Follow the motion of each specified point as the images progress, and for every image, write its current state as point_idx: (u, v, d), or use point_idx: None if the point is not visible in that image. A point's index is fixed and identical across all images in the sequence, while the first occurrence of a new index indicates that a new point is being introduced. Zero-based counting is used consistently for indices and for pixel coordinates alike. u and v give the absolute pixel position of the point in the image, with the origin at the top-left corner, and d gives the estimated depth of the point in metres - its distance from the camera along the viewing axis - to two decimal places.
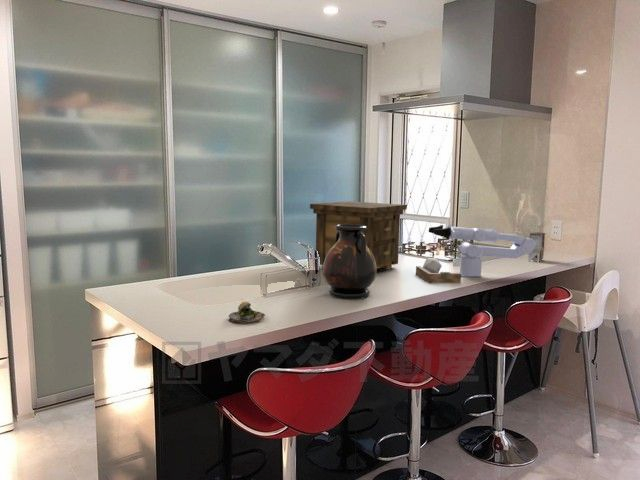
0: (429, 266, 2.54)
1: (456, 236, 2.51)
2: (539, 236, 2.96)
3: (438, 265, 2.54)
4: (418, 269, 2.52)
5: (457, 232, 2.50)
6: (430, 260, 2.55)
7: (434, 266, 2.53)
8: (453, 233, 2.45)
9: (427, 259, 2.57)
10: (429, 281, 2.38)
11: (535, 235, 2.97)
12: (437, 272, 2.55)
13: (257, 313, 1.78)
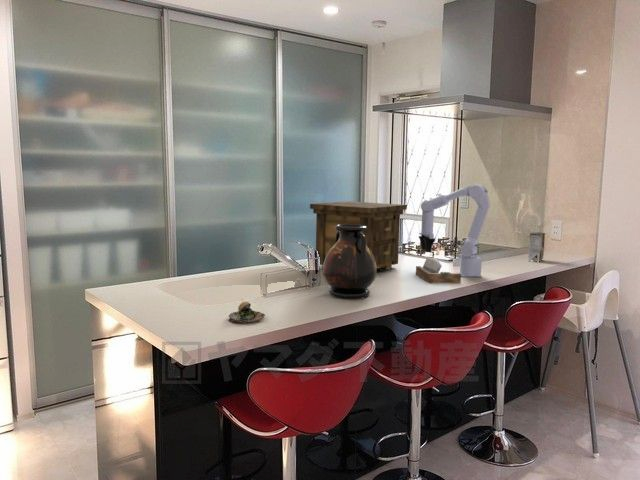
0: (429, 266, 2.54)
1: (431, 228, 2.62)
2: (539, 236, 2.96)
3: (438, 265, 2.54)
4: (418, 269, 2.52)
5: (428, 228, 2.62)
6: (430, 260, 2.55)
7: (434, 266, 2.53)
8: (431, 236, 2.58)
9: (427, 259, 2.57)
10: (429, 281, 2.38)
11: (535, 235, 2.97)
12: (437, 272, 2.55)
13: (257, 313, 1.78)
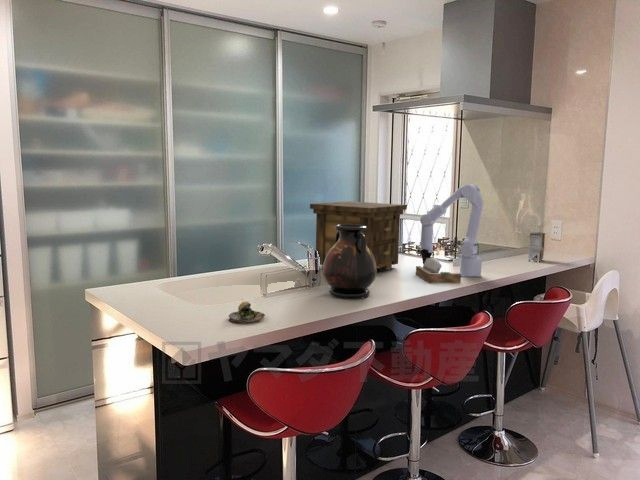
0: (429, 266, 2.54)
1: (431, 242, 2.63)
2: (539, 236, 2.96)
3: (438, 265, 2.54)
4: (418, 269, 2.52)
5: (427, 242, 2.63)
6: (430, 260, 2.55)
7: (434, 266, 2.53)
8: (430, 250, 2.59)
9: (427, 259, 2.57)
10: (429, 281, 2.38)
11: (535, 235, 2.97)
12: (437, 272, 2.55)
13: (257, 313, 1.78)
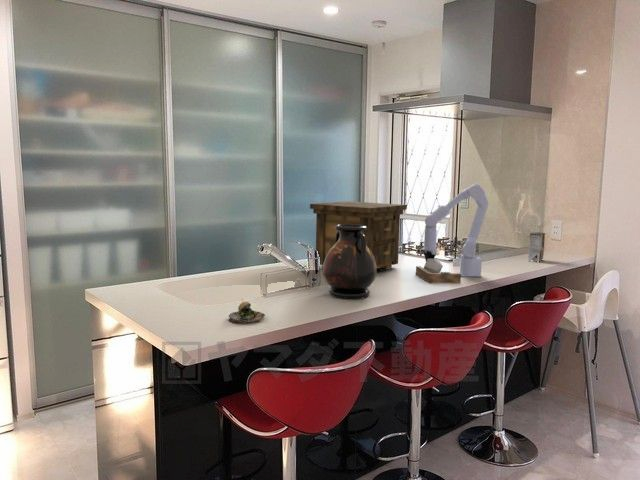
0: (430, 266, 2.52)
1: (434, 243, 2.58)
2: (539, 236, 2.96)
3: (439, 265, 2.53)
4: (418, 269, 2.52)
5: (431, 243, 2.57)
6: (431, 260, 2.53)
7: (435, 266, 2.52)
8: (433, 252, 2.53)
9: (428, 259, 2.55)
10: (429, 281, 2.38)
11: (535, 235, 2.97)
12: (438, 272, 2.54)
13: (257, 313, 1.78)
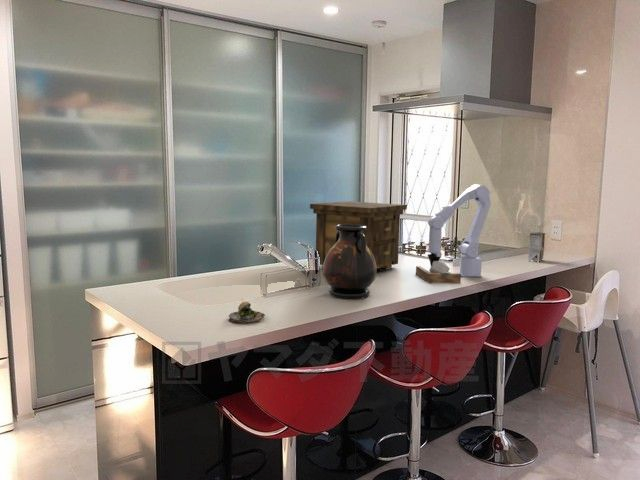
0: (438, 269, 2.45)
1: (439, 245, 2.51)
2: (539, 236, 2.96)
3: (446, 268, 2.46)
4: (418, 269, 2.52)
5: (435, 245, 2.50)
6: (438, 263, 2.47)
7: (443, 269, 2.45)
8: (438, 254, 2.46)
9: (434, 262, 2.48)
10: (429, 281, 2.38)
11: (535, 235, 2.97)
12: None
13: (257, 313, 1.78)
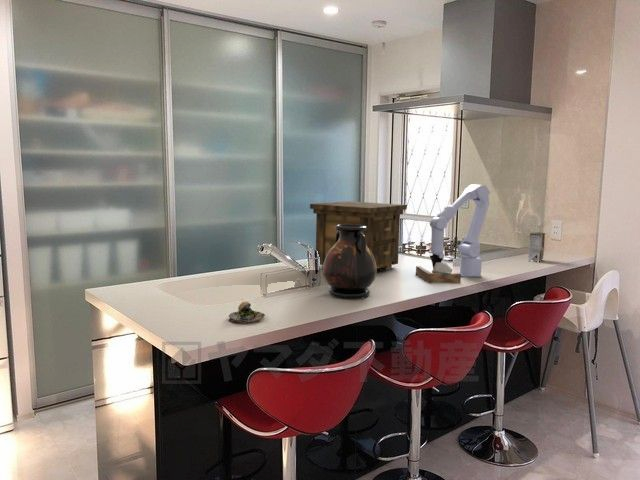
0: (441, 271, 2.42)
1: (441, 247, 2.48)
2: (539, 236, 2.96)
3: (449, 269, 2.43)
4: (418, 269, 2.52)
5: (438, 246, 2.47)
6: (441, 264, 2.43)
7: (446, 271, 2.42)
8: (441, 256, 2.43)
9: (437, 263, 2.45)
10: (429, 281, 2.38)
11: (535, 235, 2.97)
12: None
13: (257, 313, 1.78)
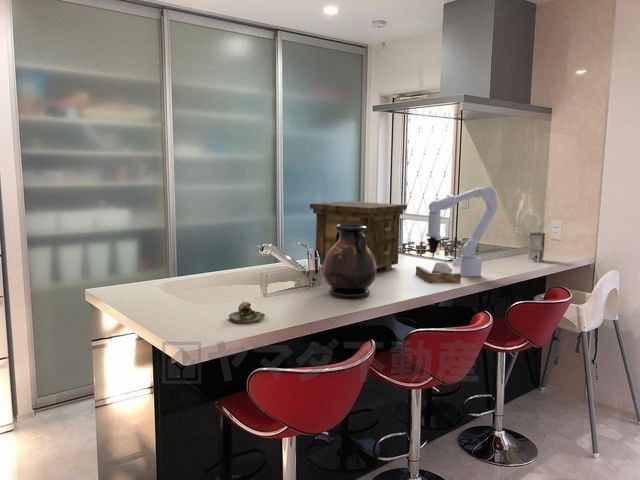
0: (441, 271, 2.42)
1: (438, 229, 2.57)
2: (539, 236, 2.96)
3: (449, 269, 2.43)
4: (418, 269, 2.52)
5: (435, 229, 2.56)
6: (441, 264, 2.43)
7: (446, 271, 2.42)
8: (438, 238, 2.52)
9: (437, 263, 2.45)
10: (429, 281, 2.38)
11: (535, 235, 2.97)
12: None
13: (257, 313, 1.78)
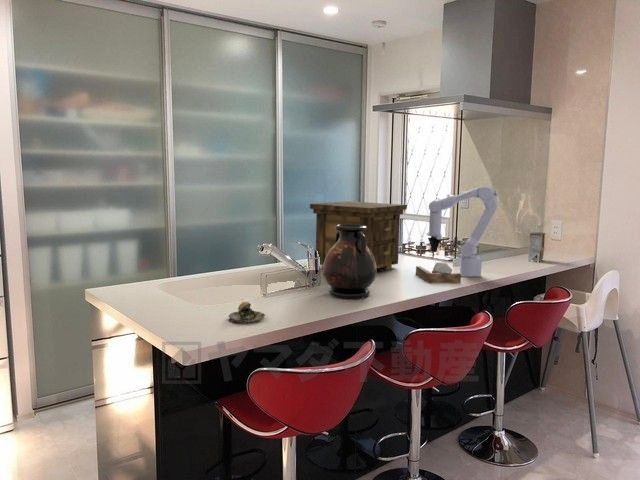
0: (441, 271, 2.42)
1: (439, 229, 2.60)
2: (539, 236, 2.96)
3: (449, 269, 2.43)
4: (418, 269, 2.52)
5: (435, 229, 2.59)
6: (441, 264, 2.43)
7: (446, 271, 2.42)
8: (438, 237, 2.55)
9: (437, 263, 2.45)
10: (429, 281, 2.38)
11: (535, 235, 2.97)
12: None
13: (257, 313, 1.78)
